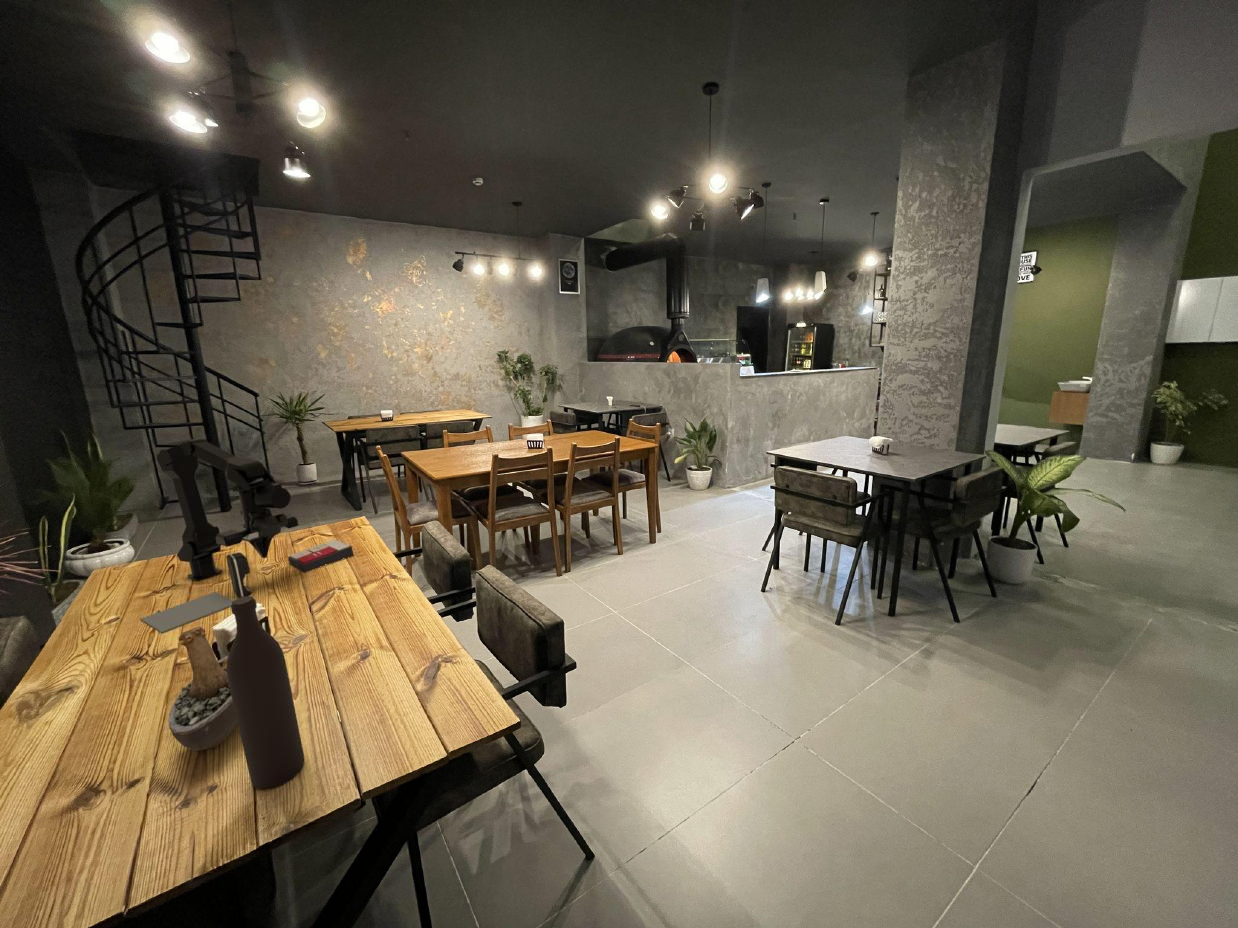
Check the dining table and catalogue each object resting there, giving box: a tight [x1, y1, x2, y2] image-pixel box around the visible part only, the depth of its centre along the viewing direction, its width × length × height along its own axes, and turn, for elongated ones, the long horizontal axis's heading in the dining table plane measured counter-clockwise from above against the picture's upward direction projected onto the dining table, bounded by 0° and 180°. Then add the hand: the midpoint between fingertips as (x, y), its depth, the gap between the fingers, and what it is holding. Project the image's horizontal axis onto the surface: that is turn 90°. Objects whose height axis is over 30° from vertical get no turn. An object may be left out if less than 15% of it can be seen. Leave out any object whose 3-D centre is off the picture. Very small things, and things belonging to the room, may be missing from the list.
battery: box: [225, 552, 252, 598], centre depth 137 cm, size 7×4×11 cm, turn 48°
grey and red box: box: [287, 539, 355, 573], centre depth 158 cm, size 11×4×15 cm
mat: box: [140, 591, 235, 634], centre depth 128 cm, size 13×16×1 cm
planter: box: [168, 626, 238, 751], centre depth 85 cm, size 15×17×20 cm
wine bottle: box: [226, 595, 305, 791], centre depth 74 cm, size 7×7×30 cm
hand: (264, 557), depth 141 cm, fingers closed
